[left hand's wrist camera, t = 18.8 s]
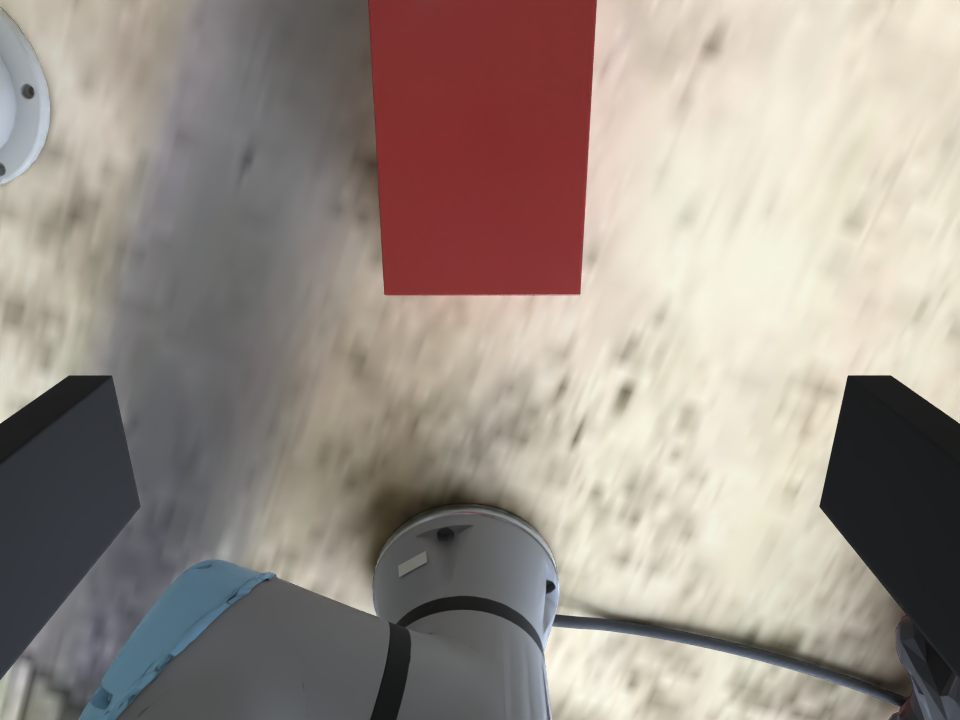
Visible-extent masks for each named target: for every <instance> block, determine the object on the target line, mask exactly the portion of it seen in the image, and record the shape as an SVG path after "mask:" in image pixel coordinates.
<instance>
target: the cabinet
mask: <svg viewBox="0 0 960 720" xmlns="http://www.w3.org/2000/svg"><path fill="white" fill-rule="evenodd" d="M368 6H369V24H370V43H371V61H372V79H373V98H374V116H375V134H376V152H377V171H378V189H379V207H380V225H381V244H382V262H383V280H384V294H385V295H580V290H581V272H582V254H583V237H584V219H585V201H586V183H587V166H588V148H589V130H590V112H591V95H592V77H593V59H594V41H595V24H596V6H597V0H368Z"/></svg>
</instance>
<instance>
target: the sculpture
mask: <svg viewBox="0 0 960 720" xmlns="http://www.w3.org/2000/svg"><path fill="white" fill-rule="evenodd" d="M896 648H897V652H898V655H899V658H900V661H901V663H902V664H903V666H904V667H905V668H906V670H907V671H908V672H909V674H910V676H911V680H912V683H913V687H914V689H913V691H912V693H911V695H910V697H909V698H908V700H907V701H906V702H905V703H904V704H903V706H902V707H901V708H900V711H899V712H897V713H895V714H893V715H892V716H891V717H890V719H889V720H960V680H959V678H958V677H957V676H956V675H955V674H954V672H953V671H952V670H951V669H950V667H949V666H948V665H947V664H946V662H945V661H944V660H943V659H942V658H941V656H940V655H939V654H938V653H937V651H936V650H935V649H934V648H933V646H932V645H931V644H930V643H929V641H928V640H927V639H926V638H925V637H924V635H923V634H922V633H921V632H920V630H919V629H918V628H917V627H916V625H915V624H914V623H913V622H912V620H911V619H910V618H909V617H908V616H907V615H906V616H904V617H903V618H902V619H901V621H900V623H899V625H898V627H897V629H896Z"/></svg>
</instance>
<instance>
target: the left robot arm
mask: <svg viewBox="0 0 960 720" xmlns="http://www.w3.org/2000/svg"><path fill="white" fill-rule="evenodd" d="M140 507H141V506H140V502H139V497H138V493H137V488H136V483H135V479H134V474H133V470H132V465H131V460H130V456H129V451H128V447H127V442H126V437H125V433H124V428H123V424H122V419H121V414H120V410H119V405H118V401H117V396H116V391H115V387H114V382H113V378H112V376H68V377H66V378H65V379H63V380H62V381H61V382H59V383H58V384H56V385H55V386H53V387H52V388H51V389H49V390H48V391H46V392H45V393H43V394H42V395H41V396H39V397H38V398H36V399H35V400H33V401H32V402H31V403H29V404H28V405H26V406H25V407H24V408H22V409H21V410H19V411H18V412H16V413H15V414H14V415H12V416H11V417H9V418H8V419H6V420H5V421H4V422H2V423H1V424H0V680H1V678H2V677H3V676H4V675H5V674H6V672H7V671H8V670H9V669H10V667H11V666H12V665H13V664H14V662H15V661H16V660H17V659H18V658H19V656H20V655H21V654H22V653H23V651H24V650H25V649H26V648H27V646H28V645H29V644H30V643H31V641H32V640H33V639H34V638H35V637H36V635H37V634H38V633H39V632H40V630H41V629H42V628H43V627H44V625H45V624H46V623H47V622H48V620H49V619H50V618H51V617H52V616H53V614H54V613H55V612H56V611H57V609H58V608H59V607H60V606H61V604H62V603H63V602H64V601H65V599H66V598H67V597H68V596H69V595H70V593H71V592H72V591H73V590H74V588H75V587H76V586H77V585H78V583H79V582H80V581H81V580H82V578H83V577H84V576H85V575H86V574H87V572H88V571H89V570H90V569H91V567H92V566H93V565H94V564H95V562H96V561H97V560H98V559H99V557H100V556H101V555H102V554H103V553H104V551H105V550H106V549H107V548H108V546H109V545H110V544H111V543H112V541H113V540H114V539H115V538H116V536H117V535H118V534H119V533H120V532H121V530H122V529H123V528H124V527H125V525H126V524H127V523H128V522H129V520H130V519H131V518H132V517H133V516H134V514H135V513H136V512H137V511H138V509H139V508H140ZM819 507H820V508H821V509H822V511H823V512H824V513H825V514H826V516H827V517H828V518H829V519H830V520H831V522H832V523H833V524H834V525H835V527H836V528H837V529H838V530H839V532H840V533H841V534H842V535H843V536H844V538H845V539H846V540H847V541H848V543H849V544H850V545H851V546H852V548H853V549H854V550H855V551H856V553H857V554H858V555H859V556H860V557H861V559H862V560H863V561H864V562H865V564H866V565H867V566H868V567H869V569H870V570H871V571H872V572H873V574H874V575H875V576H876V577H877V578H878V580H879V581H880V582H881V583H882V585H883V586H884V587H885V588H886V590H887V591H888V592H889V593H890V595H891V596H892V597H893V598H894V599H895V601H896V602H897V603H898V604H899V606H900V607H901V608H902V609H903V611H904V612H905V613H906V614H907V616H908V617H909V618H910V619H911V620H912V622H913V623H914V624H915V625H916V627H917V628H918V629H919V630H920V632H921V633H922V634H923V635H924V637H925V638H926V639H927V640H928V641H929V643H930V644H931V645H932V646H933V648H934V649H935V650H936V651H937V653H938V654H939V655H940V656H941V658H942V659H943V660H944V661H945V662H946V664H947V665H948V666H949V667H950V669H951V670H952V671H953V672H954V674H955V675H956V676H957V677H958V678H959V680H960V424H959V423H958V422H956V421H955V420H954V419H952V418H951V417H949V416H948V415H946V414H945V413H944V412H942V411H941V410H939V409H938V408H936V407H935V406H934V405H932V404H931V403H929V402H928V401H927V400H925V399H924V398H922V397H921V396H919V395H918V394H917V393H915V392H914V391H912V390H911V389H909V388H908V387H907V386H905V385H904V384H902V383H901V382H899V381H898V380H897V379H895V378H894V377H892V376H848V378H847V382H846V387H845V391H844V396H843V401H842V405H841V410H840V414H839V419H838V424H837V428H836V433H835V437H834V442H833V447H832V451H831V456H830V460H829V465H828V470H827V474H826V479H825V483H824V488H823V493H822V497H821V502H820V506H819ZM558 598H559V581H558V574H557V568H556V563H555V560H554V557H553V554H552V552H551V550H550V548H549V546H548V545H547V543H546V542H545V540H544V539H543V538H542V536H541V535H540V534H539V533H538V532H537V531H536V530H535V529H534V528H533V527H532V526H530V525H529V524H528V523H526V522H525V521H524V520H522V519H520V518H519V517H517V516H515V515H513V514H511V513H509V512H506V511H504V510H501V509H498V508H494V507H490V506H485V505H478V504H452V505H446V506H441V507H437V508H433V509H430V510H427V511H425V512H423V513H420V514H418V515H416V516H414V517H413V518H411V519H409V520H408V521H406V522H405V523H404V524H402V525H401V526H400V527H399V528H398V529H397V530H396V531H395V532H394V533H393V534H392V535H391V536H390V537H389V539H388V540H387V541H386V543H385V544H384V546H383V548H382V550H381V552H380V554H379V557H378V560H377V564H376V569H375V573H374V579H373V602H374V607H375V611H376V614H377V617H376V616H374V615H371V614H368V613H366V612H363V611H360V610H358V609H355V608H352V607H350V606H347V605H345V604H342V603H340V602H337V601H335V600H332V599H330V598H327V597H324V596H322V595H319V594H317V593H314V592H312V591H309V590H307V589H304V588H302V587H299V586H297V585H294V584H292V583H289V582H287V581H284V580H282V579H279V578H277V577H276V574H274V573H270V572H266V573H260V572H257V571H253V570H250V569H247V568H244V567H241V566H238V565H235V564H232V563H229V562H226V561H222V560H207V561H203V562H200V563H198V564H196V565H194V566H192V567H190V568H189V569H188V570H186V571H185V572H184V573H183V574H182V575H180V576H179V577H178V578H177V579H176V580H175V581H174V582H173V583H172V584H171V585H170V587H169V588H168V589H167V590H166V591H165V592H164V593H163V595H162V596H161V597H160V598H159V599H158V601H157V602H156V603H155V604H154V606H153V607H152V608H151V609H150V611H149V612H148V613H147V615H146V616H145V617H144V619H143V620H142V621H141V623H140V624H139V625H138V627H137V628H136V629H135V631H134V632H133V634H132V635H131V636H130V638H129V639H128V641H127V642H126V644H125V645H124V647H123V648H122V649H121V651H120V652H119V654H118V655H117V657H116V658H115V660H114V661H113V663H112V664H111V666H110V668H109V669H108V671H107V672H106V674H105V676H104V677H103V679H102V684H101V687H100V688H98V689H97V691H96V692H95V694H94V696H93V697H92V699H91V700H90V702H89V703H88V705H87V706H86V707H85V709H84V711H83V712H82V714H81V716H80V718H79V720H552V717H551V708H550V700H549V691H548V683H547V675H546V666H545V659H544V650H545V647H546V644H547V640H548V637H549V634H550V631H551V627H552V626H555V627H566V628H577V629H594V630H605V631H613V632H621V633H628V634H635V635H641V636H647V637H653V638H659V639H664V640H670V641H675V642H680V643H685V644H690V645H695V646H700V647H704V648H709V649H714V650H718V651H723V652H727V653H731V654H735V655H740V656H744V657H747V658H751V659H755V660H759V661H763V662H766V663H770V664H774V665H777V666H781V667H784V668H788V669H792V670H795V671H798V672H802V673H805V674H809V675H812V676H815V677H818V678H821V679H824V680H827V681H831V682H834V683H837V684H840V685H842V686H845V687H848V688H851V689H854V690H857V691H860V692H863V693H866V694H868V695H871V696H874V697H876V698H879V699H882V700H884V701H887V702H890V703H892V704H895V705H897V706H900V707H902V706H903V704H904V703H905V702H906V701H907V700H908V698H905V697H903V696H900V695H898V694H895V693H893V692H890V691H887V690H885V689H882V688H880V687H877V686H874V685H871V684H869V683H866V682H863V681H860V680H857V679H855V678H852V677H849V676H846V675H843V674H840V673H837V672H834V671H831V670H828V669H825V668H822V667H819V666H816V665H813V664H809V663H806V662H803V661H799V660H796V659H793V658H789V657H786V656H782V655H778V654H775V653H771V652H768V651H764V650H760V649H757V648H753V647H749V646H745V645H741V644H737V643H733V642H729V641H725V640H720V639H716V638H711V637H707V636H702V635H697V634H692V633H688V632H683V631H678V630H672V629H667V628H662V627H656V626H650V625H644V624H638V623H632V622H625V621H618V620H610V619H602V618H590V617H576V616H565V615H555V614H556V611H557V606H558Z"/></svg>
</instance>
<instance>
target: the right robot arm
mask: <svg viewBox="0 0 960 720" xmlns="http://www.w3.org/2000/svg"><path fill="white" fill-rule="evenodd" d="M33 89H34V93H33V91H32V90H33ZM49 122H50V100H49V93H48V86H47V83H46V79H45V76H44V73H43V70H42V66H41V64H40V62H39V60H38V58H37V56H36V54H35V52H34V50H33V48H32V46H31V44H30V43H29V41H28V40H27V38H26V37H25V36H24V34H23V33H22V31H21V30H20V28H19V27H18V26H17V25H16V23H15V22H14V21H13V20H12V19H11V18H10V17H9V16H8V15H7V14H6V13H5V12H4V11H3V10H2V9H1V8H0V185H2V184H4V183H7V182H9V181H12V180H14V179H15V178H16V177H18V176H19V175H21V174H22V173H24V172H25V171H26V170H27V169H28V168H29V167H30V166H31V165H32V163H33V162H34V161H35V160H36V159H37V157H38V155H39V153H40V151H41V150H42V148H43V146H44V144H45V140H46V137H47V133H48V129H49Z"/></svg>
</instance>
